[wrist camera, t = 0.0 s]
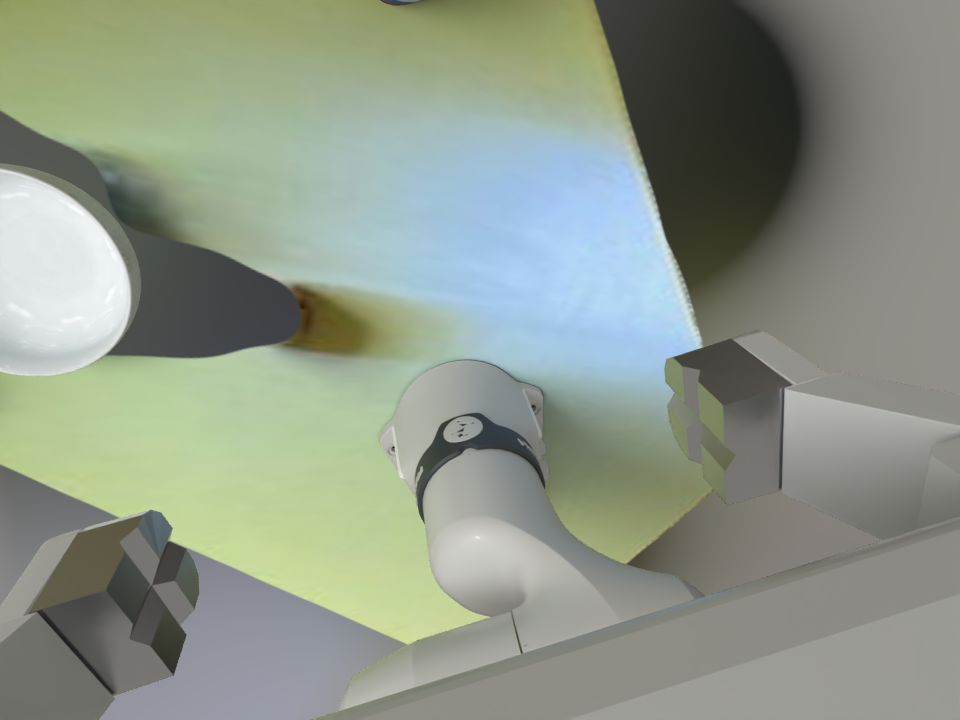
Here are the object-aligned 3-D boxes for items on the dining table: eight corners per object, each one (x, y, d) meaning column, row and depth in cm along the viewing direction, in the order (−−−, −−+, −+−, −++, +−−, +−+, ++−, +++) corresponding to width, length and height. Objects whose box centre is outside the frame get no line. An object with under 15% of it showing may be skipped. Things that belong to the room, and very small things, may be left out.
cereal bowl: (160, 351, 57) (135, 387, 51) (-43, 331, 53) (-97, 367, 47) (156, 173, 50) (126, 189, 44) (-78, 133, 46) (-147, 145, 40)
